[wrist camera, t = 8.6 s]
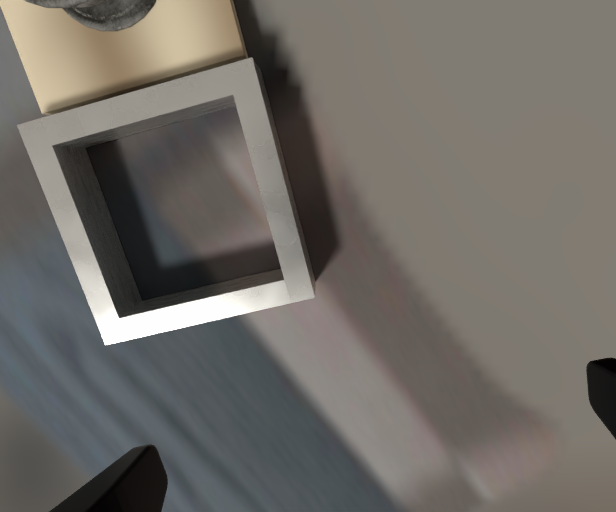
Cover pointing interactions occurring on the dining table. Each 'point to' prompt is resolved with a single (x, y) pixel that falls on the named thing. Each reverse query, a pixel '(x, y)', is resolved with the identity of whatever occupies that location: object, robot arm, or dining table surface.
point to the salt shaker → (102, 12)
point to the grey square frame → (100, 228)
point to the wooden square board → (120, 49)
